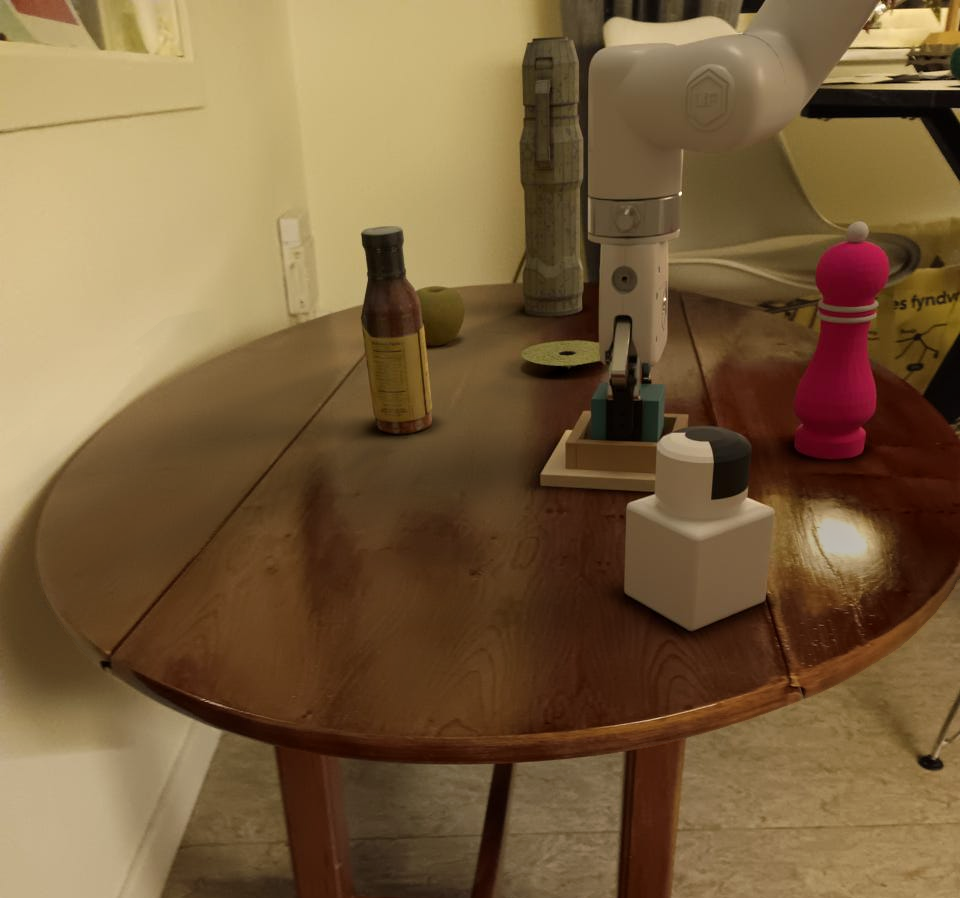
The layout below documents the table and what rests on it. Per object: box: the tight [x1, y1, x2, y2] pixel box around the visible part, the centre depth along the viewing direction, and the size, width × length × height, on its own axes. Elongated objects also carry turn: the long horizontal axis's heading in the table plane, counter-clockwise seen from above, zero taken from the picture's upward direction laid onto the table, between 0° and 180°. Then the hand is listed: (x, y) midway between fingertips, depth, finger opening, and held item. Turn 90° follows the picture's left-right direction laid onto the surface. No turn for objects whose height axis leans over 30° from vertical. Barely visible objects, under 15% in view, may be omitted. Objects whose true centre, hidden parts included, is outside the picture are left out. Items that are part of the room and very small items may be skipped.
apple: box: [415, 285, 465, 347], centre depth 133 cm, size 8×8×7 cm
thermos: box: [518, 36, 584, 317], centre depth 139 cm, size 9×12×35 cm
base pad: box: [539, 410, 689, 493], centre depth 91 cm, size 14×12×4 cm
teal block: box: [590, 382, 666, 443], centre depth 90 cm, size 6×5×4 cm
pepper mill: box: [792, 220, 890, 460], centre depth 88 cm, size 7×7×20 cm
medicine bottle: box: [623, 425, 776, 632], centre depth 67 cm, size 7×7×12 cm
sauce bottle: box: [360, 225, 433, 435], centre depth 100 cm, size 6×6×20 cm
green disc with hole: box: [520, 339, 601, 370], centre depth 121 cm, size 11×11×2 cm
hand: (628, 429), depth 91 cm, fingers closed on teal block, 5 cm apart
